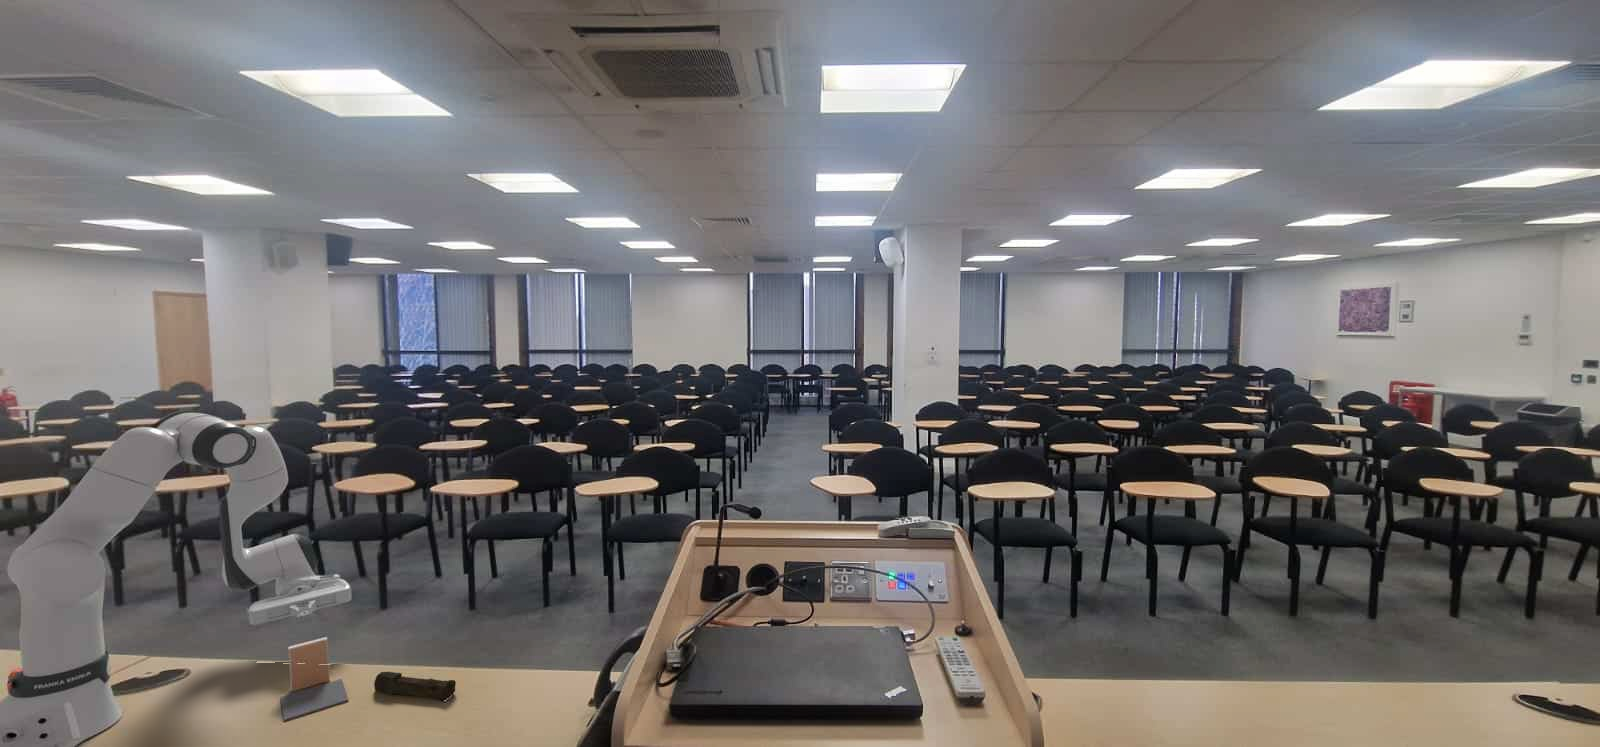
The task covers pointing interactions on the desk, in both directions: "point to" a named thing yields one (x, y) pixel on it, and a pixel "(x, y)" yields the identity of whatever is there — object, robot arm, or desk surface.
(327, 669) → the tile
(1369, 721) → the desk surface
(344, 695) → the mat
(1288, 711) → the desk surface
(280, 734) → the desk surface
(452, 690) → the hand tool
